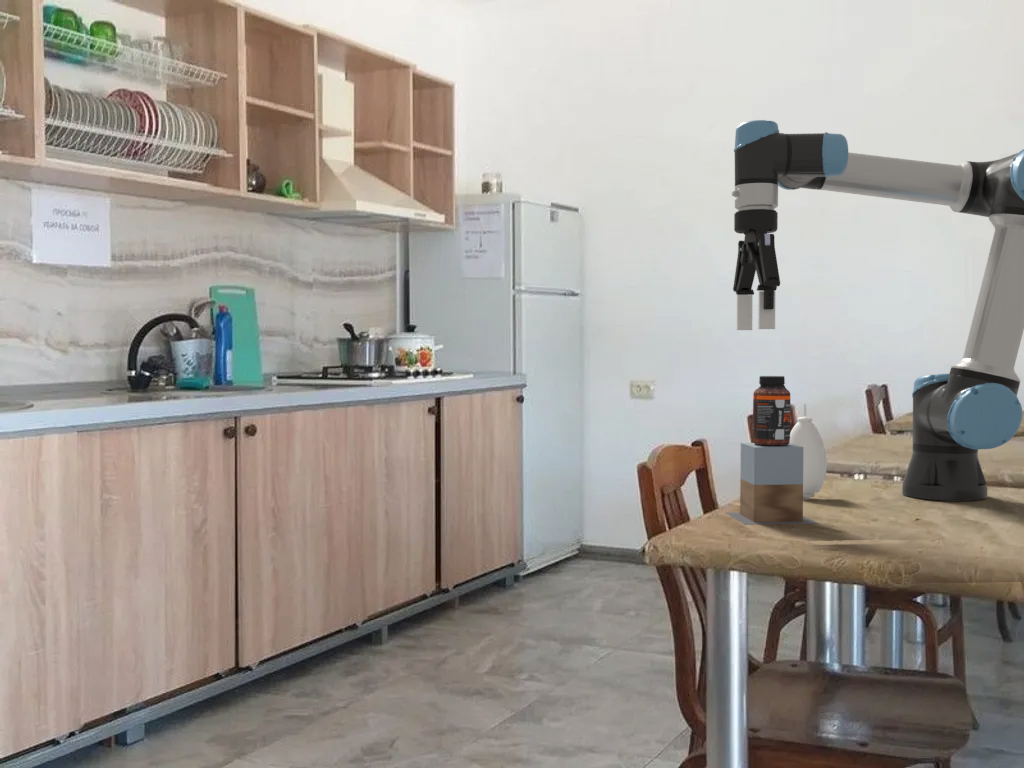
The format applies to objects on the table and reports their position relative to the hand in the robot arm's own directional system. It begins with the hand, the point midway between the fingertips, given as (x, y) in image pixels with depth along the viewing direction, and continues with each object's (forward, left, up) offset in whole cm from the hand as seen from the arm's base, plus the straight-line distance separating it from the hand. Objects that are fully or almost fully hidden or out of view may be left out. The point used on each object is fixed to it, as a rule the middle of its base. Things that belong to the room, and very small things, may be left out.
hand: (755, 329), depth 194 cm
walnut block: (+2, +17, -31) cm, 35 cm away
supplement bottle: (+2, +17, -19) cm, 26 cm away
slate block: (+2, +17, -25) cm, 30 cm away
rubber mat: (+2, +17, -32) cm, 36 cm away
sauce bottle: (-12, -8, -32) cm, 35 cm away
